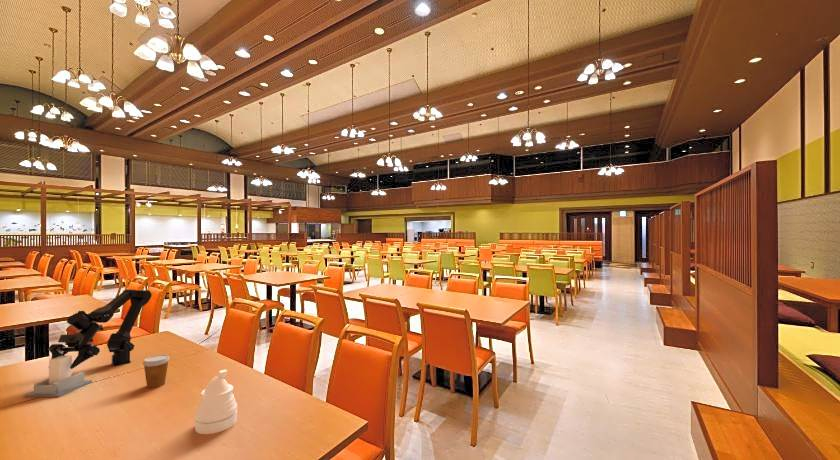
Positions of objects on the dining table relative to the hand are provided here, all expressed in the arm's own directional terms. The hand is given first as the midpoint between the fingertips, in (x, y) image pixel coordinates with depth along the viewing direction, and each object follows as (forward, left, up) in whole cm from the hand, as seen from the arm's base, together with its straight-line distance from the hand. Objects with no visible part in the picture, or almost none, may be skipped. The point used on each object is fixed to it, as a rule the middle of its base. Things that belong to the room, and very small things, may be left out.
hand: (60, 368), depth 147 cm
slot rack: (0, 0, -9) cm, 9 cm away
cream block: (0, 0, -8) cm, 8 cm away
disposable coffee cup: (-28, +26, -9) cm, 39 cm away
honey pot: (-34, +80, -9) cm, 87 cm away
